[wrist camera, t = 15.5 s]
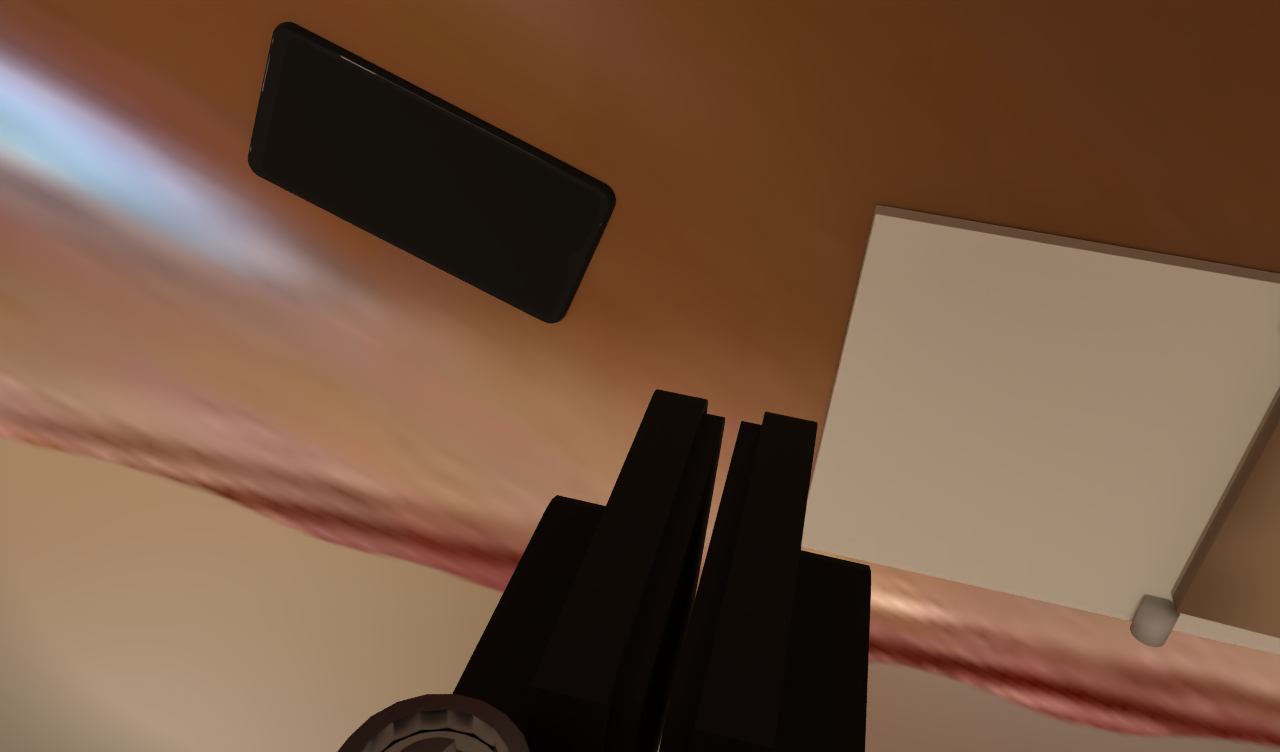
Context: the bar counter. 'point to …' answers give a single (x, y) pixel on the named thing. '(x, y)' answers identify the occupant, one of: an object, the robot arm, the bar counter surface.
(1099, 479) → the plaque base
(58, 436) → the bar counter surface
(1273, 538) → the flip plaque
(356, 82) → the smartphone
